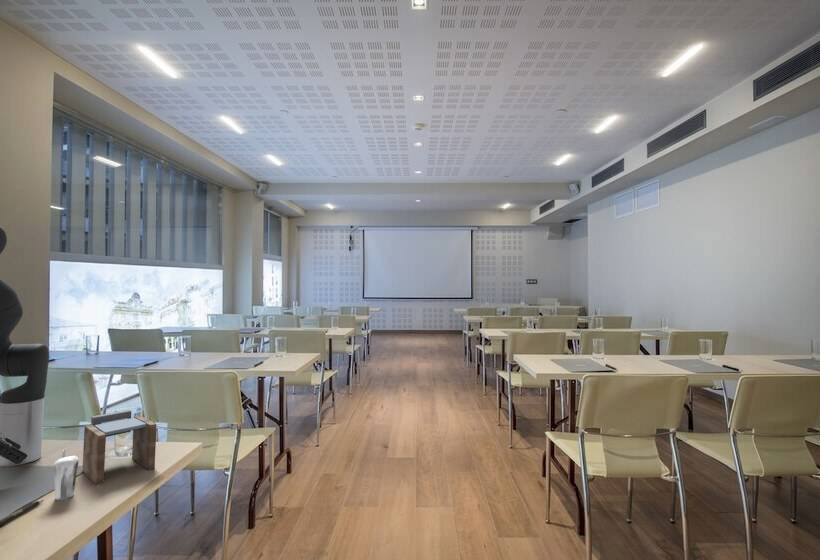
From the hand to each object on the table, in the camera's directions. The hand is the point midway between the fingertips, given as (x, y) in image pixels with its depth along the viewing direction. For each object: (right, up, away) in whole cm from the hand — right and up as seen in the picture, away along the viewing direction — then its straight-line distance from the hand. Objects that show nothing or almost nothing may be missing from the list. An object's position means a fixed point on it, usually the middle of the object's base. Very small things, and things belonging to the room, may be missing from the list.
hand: (19, 455), depth 88 cm
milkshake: (+5, -12, +6) cm, 14 cm away
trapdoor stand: (+7, -13, +21) cm, 25 cm away
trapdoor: (+5, -5, +23) cm, 24 cm away
